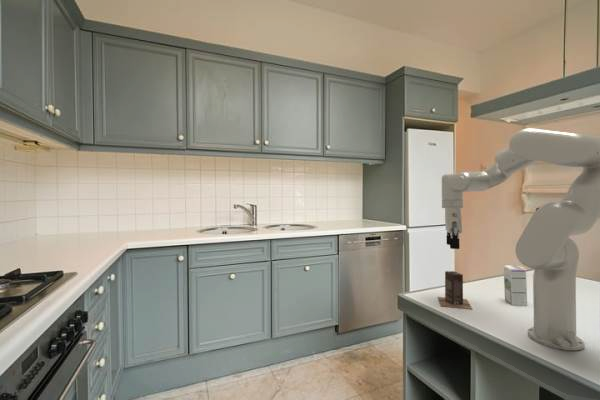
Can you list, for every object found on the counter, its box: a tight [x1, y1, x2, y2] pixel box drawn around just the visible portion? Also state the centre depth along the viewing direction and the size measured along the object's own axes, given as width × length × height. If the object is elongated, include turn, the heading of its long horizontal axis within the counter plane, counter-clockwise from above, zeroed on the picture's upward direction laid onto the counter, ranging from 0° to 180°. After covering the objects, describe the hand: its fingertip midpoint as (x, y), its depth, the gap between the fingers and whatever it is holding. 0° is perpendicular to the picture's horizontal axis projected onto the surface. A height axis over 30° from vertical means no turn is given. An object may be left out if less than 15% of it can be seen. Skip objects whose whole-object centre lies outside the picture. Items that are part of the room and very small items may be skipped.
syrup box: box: [503, 264, 528, 306], centre depth 116 cm, size 6×6×14 cm
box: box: [444, 270, 464, 305], centre depth 117 cm, size 6×4×12 cm
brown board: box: [437, 296, 473, 310], centre depth 117 cm, size 11×11×1 cm
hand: (452, 246), depth 117 cm, fingers open, 9 cm apart
